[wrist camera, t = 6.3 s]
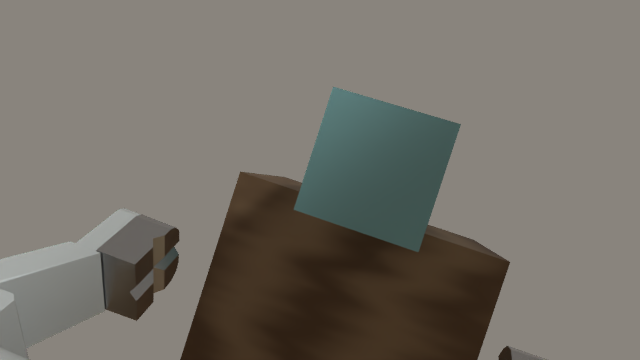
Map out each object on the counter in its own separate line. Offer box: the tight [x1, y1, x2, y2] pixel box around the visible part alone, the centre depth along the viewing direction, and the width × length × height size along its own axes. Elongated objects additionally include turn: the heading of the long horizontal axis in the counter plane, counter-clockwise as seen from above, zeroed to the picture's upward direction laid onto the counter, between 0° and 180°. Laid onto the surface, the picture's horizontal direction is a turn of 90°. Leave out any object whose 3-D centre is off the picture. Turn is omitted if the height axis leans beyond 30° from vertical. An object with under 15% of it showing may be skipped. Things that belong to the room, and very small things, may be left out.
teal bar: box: [294, 87, 461, 252], centre depth 26 cm, size 24×4×4 cm, turn 171°
